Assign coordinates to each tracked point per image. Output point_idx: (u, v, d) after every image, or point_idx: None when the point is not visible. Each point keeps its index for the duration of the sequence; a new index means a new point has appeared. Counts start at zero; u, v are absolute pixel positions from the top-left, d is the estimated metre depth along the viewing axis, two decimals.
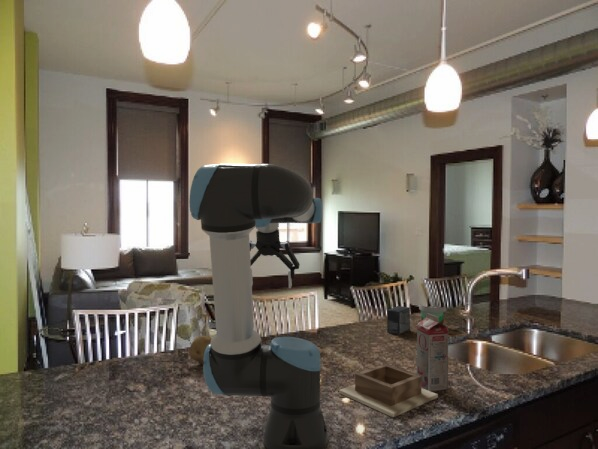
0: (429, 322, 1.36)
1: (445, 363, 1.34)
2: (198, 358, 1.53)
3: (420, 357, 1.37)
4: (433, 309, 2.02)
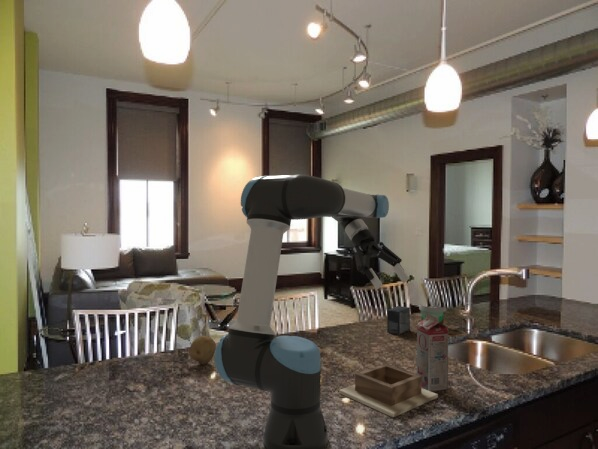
0: (429, 322, 1.36)
1: (445, 363, 1.34)
2: (198, 358, 1.53)
3: (420, 357, 1.37)
4: (433, 309, 2.02)
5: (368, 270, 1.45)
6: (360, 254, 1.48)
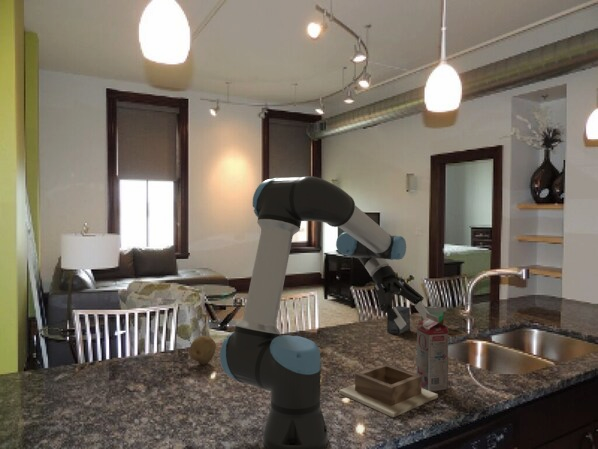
0: (429, 322, 1.36)
1: (445, 363, 1.34)
2: (198, 358, 1.53)
3: (420, 357, 1.37)
4: (433, 309, 2.02)
5: (391, 309, 1.40)
6: (383, 292, 1.44)
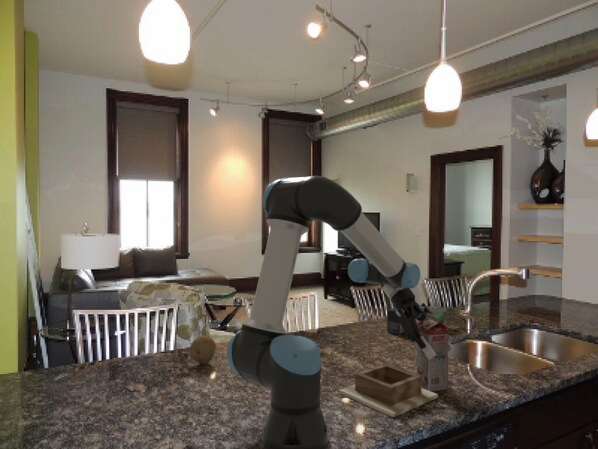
0: (429, 322, 1.36)
1: (445, 363, 1.34)
2: (198, 358, 1.53)
3: (420, 357, 1.37)
4: (433, 309, 2.02)
5: (419, 338, 1.34)
6: (406, 319, 1.36)
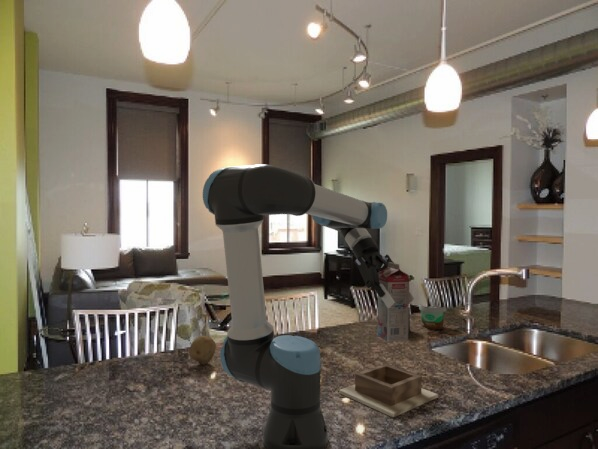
0: (389, 270, 1.29)
1: (406, 313, 1.28)
2: (198, 358, 1.53)
3: (381, 307, 1.30)
4: (433, 309, 2.02)
5: (378, 286, 1.27)
6: (366, 267, 1.30)
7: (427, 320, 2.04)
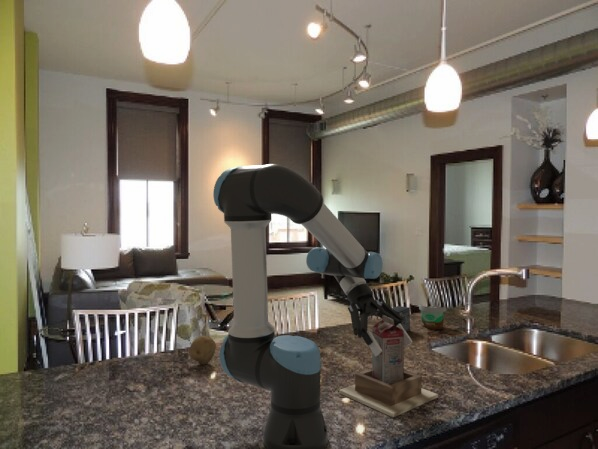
0: (384, 325, 1.29)
1: (401, 368, 1.27)
2: (198, 358, 1.53)
3: (375, 361, 1.30)
4: (433, 309, 2.02)
5: (366, 333, 1.26)
6: (357, 314, 1.29)
7: (427, 320, 2.04)
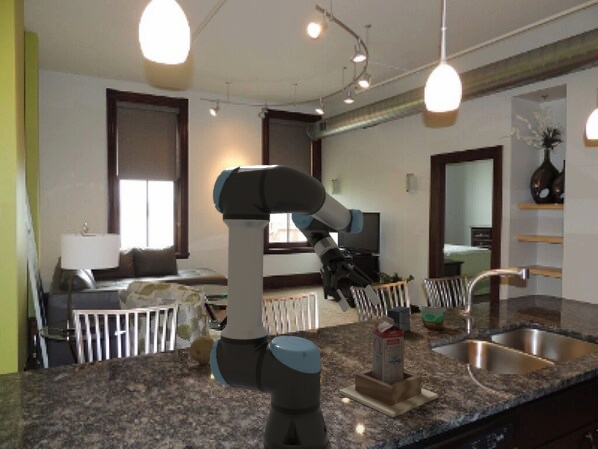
0: (384, 325, 1.29)
1: (401, 368, 1.27)
2: (198, 358, 1.53)
3: (375, 361, 1.30)
4: (433, 309, 2.02)
5: (335, 291, 1.35)
6: (328, 274, 1.38)
7: (427, 320, 2.04)
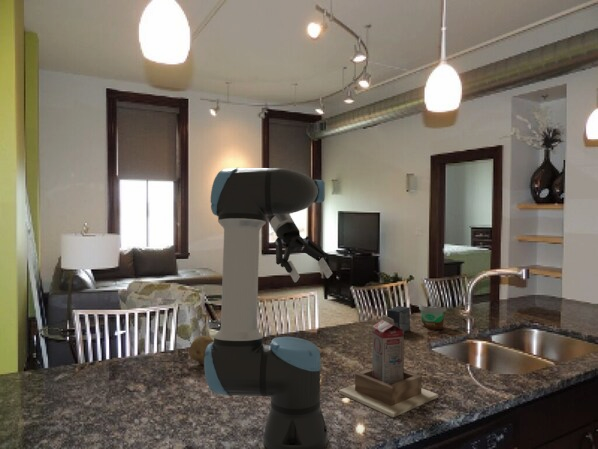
0: (384, 325, 1.29)
1: (401, 368, 1.27)
2: (198, 358, 1.53)
3: (375, 361, 1.30)
4: (433, 309, 2.02)
5: (287, 262, 1.39)
6: (280, 246, 1.42)
7: (427, 320, 2.04)
